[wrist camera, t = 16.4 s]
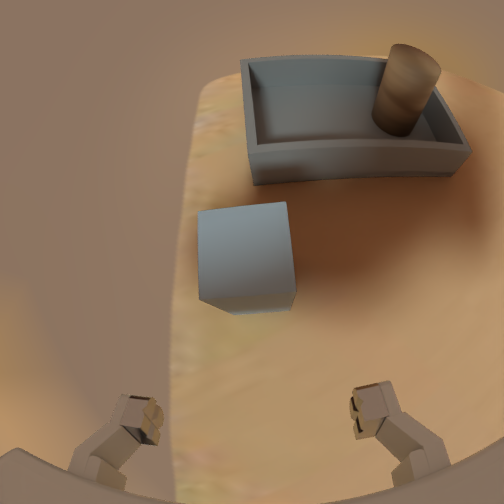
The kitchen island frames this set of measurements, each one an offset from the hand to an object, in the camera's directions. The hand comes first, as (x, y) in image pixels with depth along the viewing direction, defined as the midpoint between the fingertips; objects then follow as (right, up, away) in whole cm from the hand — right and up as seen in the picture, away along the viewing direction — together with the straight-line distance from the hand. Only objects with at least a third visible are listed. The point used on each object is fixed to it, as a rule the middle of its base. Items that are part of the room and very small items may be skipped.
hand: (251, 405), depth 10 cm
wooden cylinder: (+15, +20, +15) cm, 30 cm away
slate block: (+1, +3, +13) cm, 13 cm away
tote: (+10, +20, +17) cm, 28 cm away
